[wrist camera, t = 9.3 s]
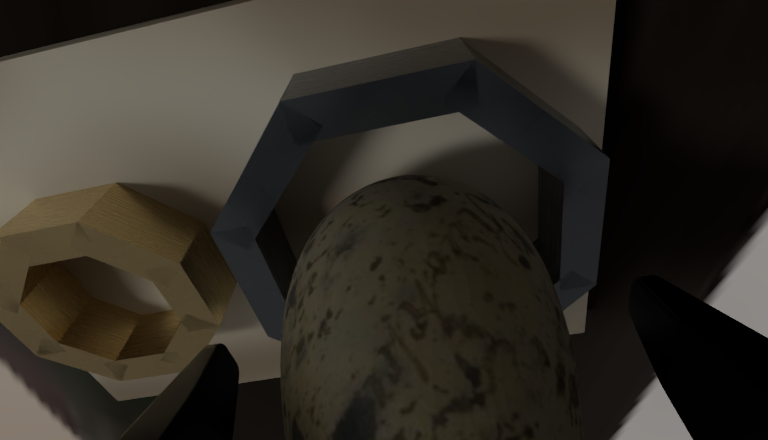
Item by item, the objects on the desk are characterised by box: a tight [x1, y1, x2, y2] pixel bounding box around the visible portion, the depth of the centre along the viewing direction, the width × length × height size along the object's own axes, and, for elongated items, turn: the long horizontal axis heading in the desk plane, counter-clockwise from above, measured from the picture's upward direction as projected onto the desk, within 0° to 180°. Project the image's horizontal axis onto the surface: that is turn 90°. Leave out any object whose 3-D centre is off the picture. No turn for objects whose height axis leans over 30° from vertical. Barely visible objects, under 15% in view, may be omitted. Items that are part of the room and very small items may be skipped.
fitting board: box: [0, 0, 616, 401], centre depth 14 cm, size 13×19×1 cm
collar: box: [210, 37, 610, 341], centre depth 12 cm, size 10×10×2 cm
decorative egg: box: [280, 175, 584, 440], centre depth 9 cm, size 6×6×10 cm
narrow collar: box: [0, 182, 237, 381], centre depth 13 cm, size 6×6×2 cm
